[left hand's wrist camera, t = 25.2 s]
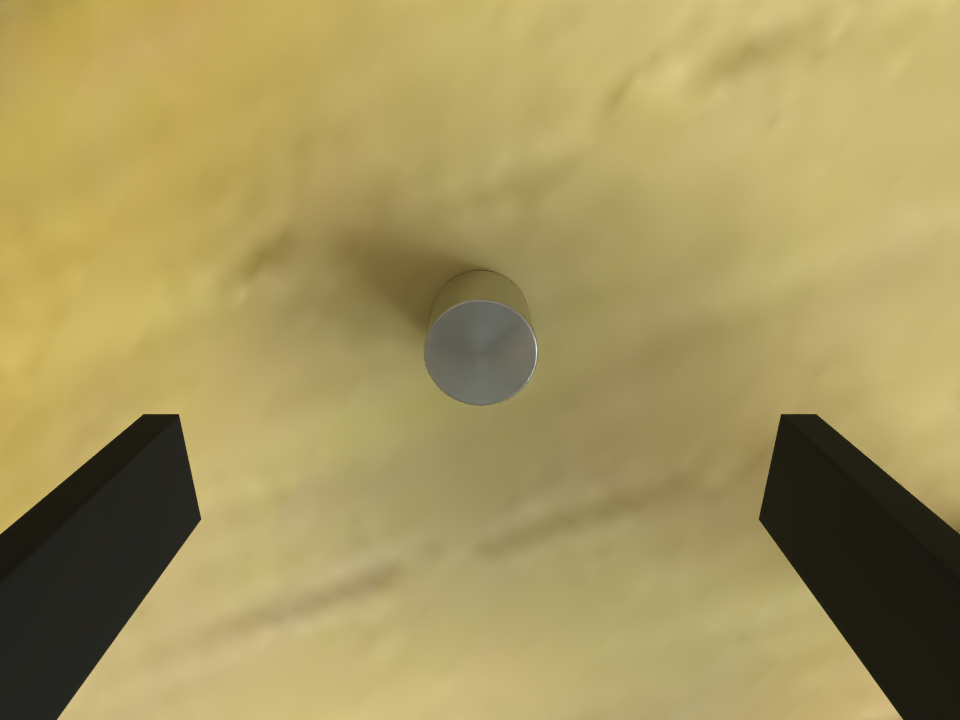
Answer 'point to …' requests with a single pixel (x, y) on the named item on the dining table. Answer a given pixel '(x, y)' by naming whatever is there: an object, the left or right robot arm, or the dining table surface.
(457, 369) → the can
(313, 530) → the dining table surface
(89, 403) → the dining table surface
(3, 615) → the left robot arm
